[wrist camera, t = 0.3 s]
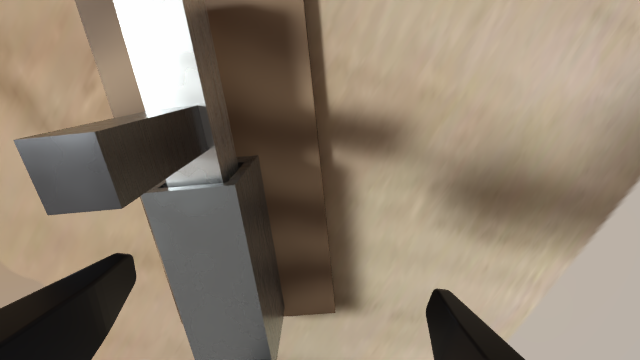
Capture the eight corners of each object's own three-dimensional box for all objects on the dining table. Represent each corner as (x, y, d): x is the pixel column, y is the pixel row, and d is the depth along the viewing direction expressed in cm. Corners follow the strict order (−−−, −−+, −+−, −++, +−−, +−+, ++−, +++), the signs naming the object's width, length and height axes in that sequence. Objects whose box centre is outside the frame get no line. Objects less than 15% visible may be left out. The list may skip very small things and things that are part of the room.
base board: (334, 304, 27) (335, 312, 26) (186, 315, 28) (182, 323, 27) (283, -200, 16) (281, -218, 15) (33, -165, 16) (15, -179, 15)
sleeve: (284, 307, 26) (274, 373, 20) (227, 311, 26) (200, 377, 21) (258, 155, 21) (234, 185, 16) (188, 161, 22) (140, 193, 16)
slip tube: (268, 316, 24) (230, 487, 14) (229, 318, 24) (165, 490, 14) (202, -9, 16) (17, -137, 6) (146, -3, 16) (-123, -118, 6)
